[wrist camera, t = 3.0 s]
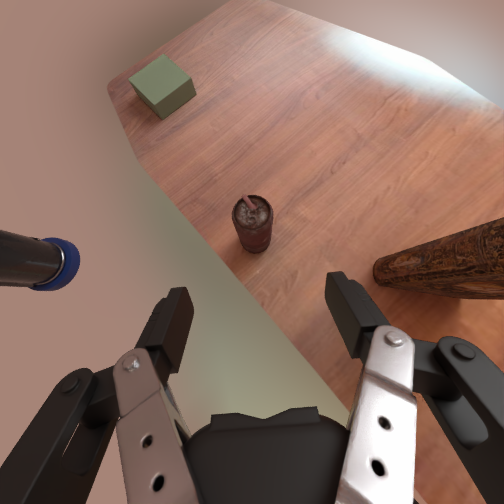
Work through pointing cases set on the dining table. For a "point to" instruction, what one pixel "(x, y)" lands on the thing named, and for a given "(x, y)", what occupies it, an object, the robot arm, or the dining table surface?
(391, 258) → the book
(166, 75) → the plate
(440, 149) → the dining table surface
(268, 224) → the can
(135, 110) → the dining table surface
